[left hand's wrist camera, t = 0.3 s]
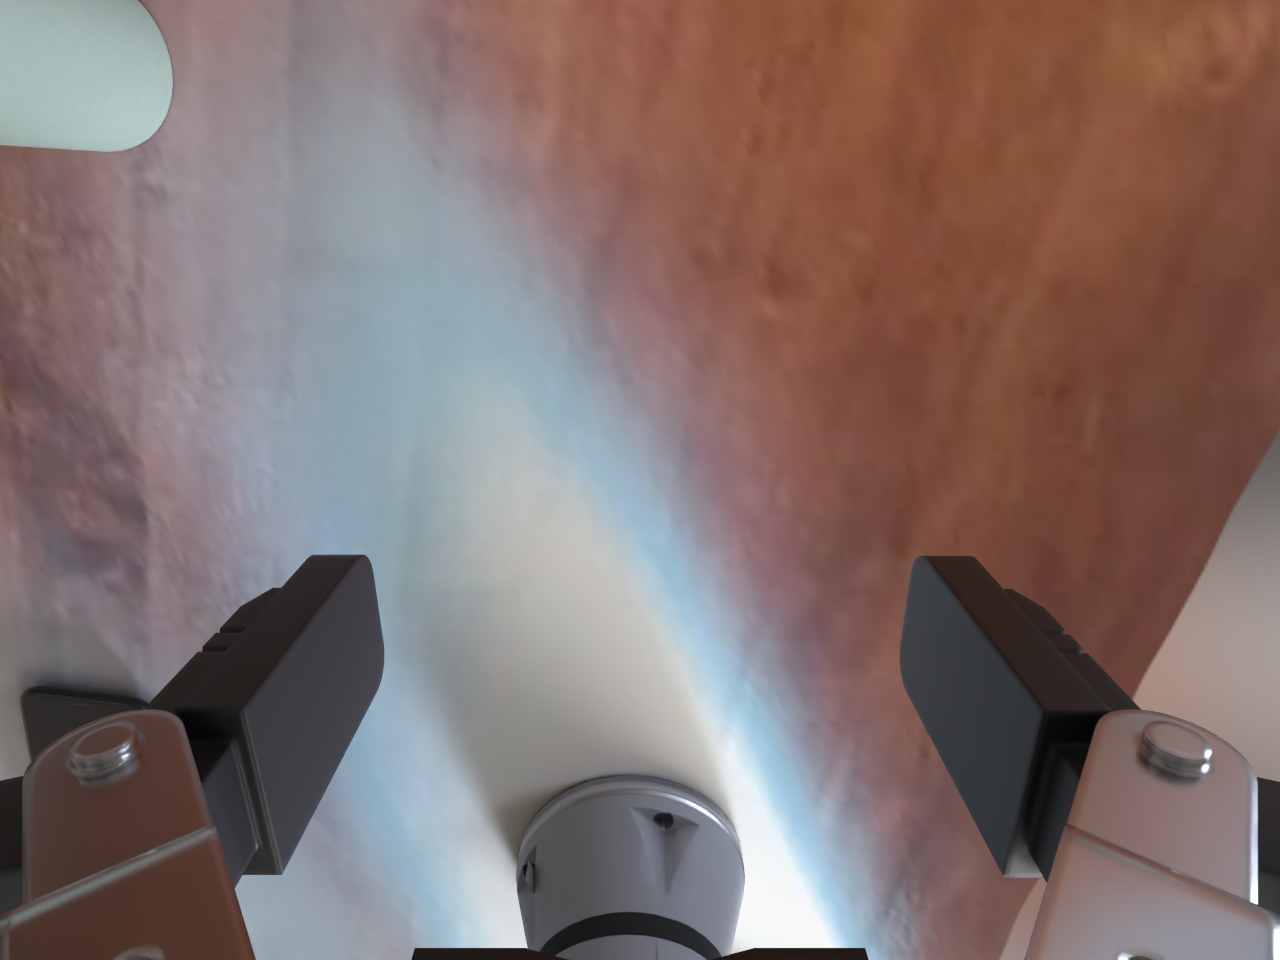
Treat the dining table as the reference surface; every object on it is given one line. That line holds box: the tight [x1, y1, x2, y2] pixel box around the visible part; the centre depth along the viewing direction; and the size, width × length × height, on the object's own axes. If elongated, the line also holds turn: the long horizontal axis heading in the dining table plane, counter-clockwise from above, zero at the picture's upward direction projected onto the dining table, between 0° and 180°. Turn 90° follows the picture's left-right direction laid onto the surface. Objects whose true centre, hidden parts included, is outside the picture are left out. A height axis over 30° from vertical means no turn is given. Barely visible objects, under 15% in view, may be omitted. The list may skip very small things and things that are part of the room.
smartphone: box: [20, 686, 148, 762], centre depth 49 cm, size 8×1×16 cm
